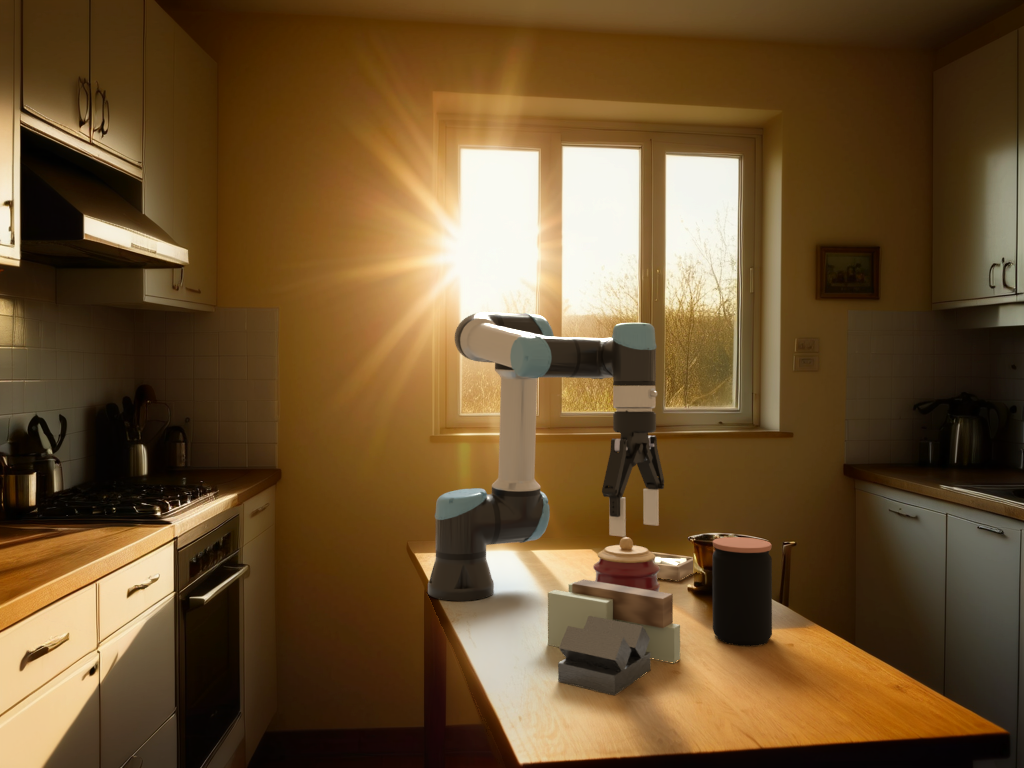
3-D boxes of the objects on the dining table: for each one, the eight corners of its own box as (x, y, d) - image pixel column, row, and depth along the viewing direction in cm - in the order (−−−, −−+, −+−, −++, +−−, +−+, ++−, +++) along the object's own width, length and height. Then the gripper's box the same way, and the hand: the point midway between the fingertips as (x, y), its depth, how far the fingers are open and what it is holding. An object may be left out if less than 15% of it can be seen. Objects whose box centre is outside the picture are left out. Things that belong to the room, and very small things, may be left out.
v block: (558, 681, 124) (558, 630, 125) (597, 658, 135) (597, 611, 135) (614, 695, 119) (614, 641, 119) (650, 670, 130) (650, 621, 130)
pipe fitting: (686, 579, 196) (686, 571, 202) (686, 563, 195) (686, 556, 202) (653, 577, 197) (655, 569, 204) (653, 562, 197) (655, 554, 204)
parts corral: (626, 573, 198) (626, 560, 198) (647, 564, 209) (647, 551, 209) (678, 581, 190) (678, 567, 190) (697, 571, 201) (697, 557, 201)
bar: (572, 610, 143) (572, 583, 143) (583, 606, 147) (583, 579, 147) (662, 628, 133) (662, 598, 133) (672, 622, 136) (672, 593, 136)
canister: (618, 641, 145) (618, 546, 145) (580, 623, 156) (580, 534, 156) (673, 631, 151) (673, 539, 151) (633, 614, 162) (633, 529, 162)
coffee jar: (772, 632, 150) (772, 539, 150) (771, 650, 140) (771, 549, 140) (715, 627, 153) (714, 535, 154) (710, 643, 143) (710, 545, 143)
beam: (547, 644, 143) (547, 592, 143) (575, 630, 151) (575, 581, 151) (665, 670, 130) (665, 612, 130) (688, 653, 138) (688, 599, 138)
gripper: (621, 411, 126) (622, 543, 126) (681, 409, 147) (682, 522, 147) (581, 411, 131) (581, 538, 130) (644, 408, 151) (645, 518, 151)
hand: (634, 530), depth 138 cm, fingers open, 13 cm apart
